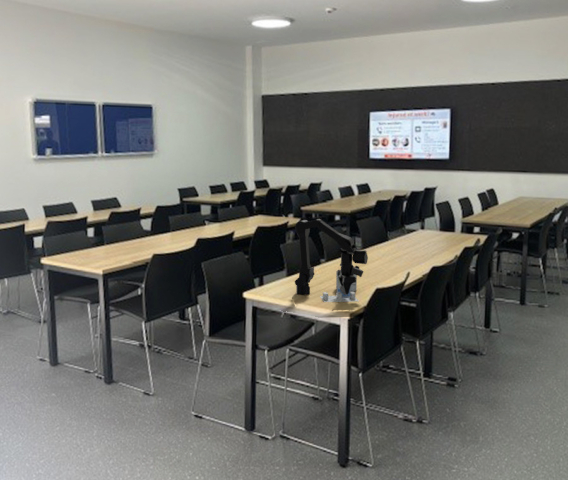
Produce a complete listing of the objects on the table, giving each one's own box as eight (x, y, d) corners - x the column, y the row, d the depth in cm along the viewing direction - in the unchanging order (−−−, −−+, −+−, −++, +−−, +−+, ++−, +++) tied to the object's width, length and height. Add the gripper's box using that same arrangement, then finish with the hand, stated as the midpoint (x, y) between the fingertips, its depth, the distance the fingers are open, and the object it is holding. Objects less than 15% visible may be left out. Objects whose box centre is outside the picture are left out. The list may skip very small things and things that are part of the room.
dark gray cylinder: (350, 293, 302) (348, 287, 302) (343, 295, 302) (341, 289, 301) (347, 290, 308) (345, 284, 308) (341, 293, 308) (339, 286, 307)
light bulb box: (354, 289, 328) (355, 270, 327) (356, 292, 322) (357, 273, 320) (335, 289, 328) (335, 270, 326) (337, 292, 321) (337, 273, 320)
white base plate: (323, 303, 298) (323, 294, 298) (319, 297, 310) (319, 288, 309) (359, 303, 300) (359, 293, 300) (353, 297, 312) (353, 287, 311)
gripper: (366, 265, 294) (365, 296, 297) (357, 258, 313) (356, 287, 315) (344, 266, 293) (343, 297, 296) (336, 259, 311) (336, 288, 314)
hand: (345, 292), depth 305 cm, fingers closed on dark gray cylinder, 6 cm apart
